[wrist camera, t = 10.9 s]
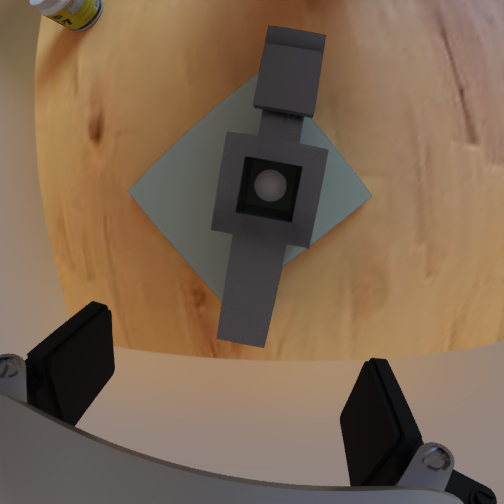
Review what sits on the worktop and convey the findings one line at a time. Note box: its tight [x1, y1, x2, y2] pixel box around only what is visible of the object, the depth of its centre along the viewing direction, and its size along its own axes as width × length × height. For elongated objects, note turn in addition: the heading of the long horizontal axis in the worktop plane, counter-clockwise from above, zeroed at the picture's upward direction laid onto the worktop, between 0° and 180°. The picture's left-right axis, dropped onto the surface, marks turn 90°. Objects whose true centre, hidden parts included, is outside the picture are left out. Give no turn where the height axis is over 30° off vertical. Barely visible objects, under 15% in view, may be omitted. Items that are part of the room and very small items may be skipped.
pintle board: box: [128, 25, 372, 301], centre depth 22 cm, size 20×15×6 cm
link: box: [211, 109, 329, 348], centre depth 22 cm, size 18×6×6 cm, turn 170°
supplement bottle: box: [30, 0, 103, 32], centre depth 18 cm, size 5×5×8 cm
